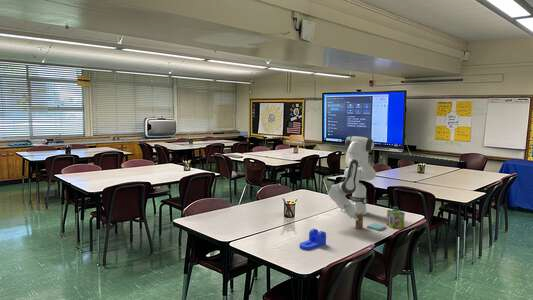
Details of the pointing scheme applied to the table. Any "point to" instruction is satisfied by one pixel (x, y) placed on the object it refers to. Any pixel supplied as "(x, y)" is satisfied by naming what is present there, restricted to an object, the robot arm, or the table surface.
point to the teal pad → (376, 226)
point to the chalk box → (395, 218)
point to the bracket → (314, 240)
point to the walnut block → (359, 221)
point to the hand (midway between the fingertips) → (357, 218)
